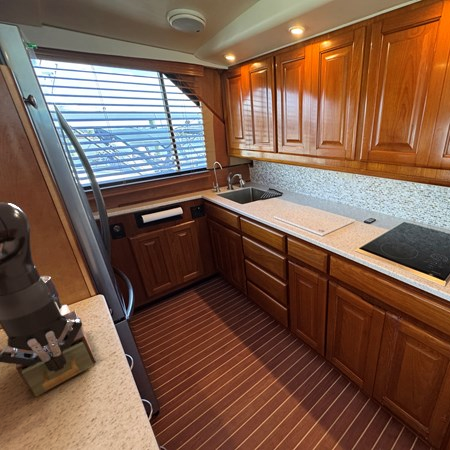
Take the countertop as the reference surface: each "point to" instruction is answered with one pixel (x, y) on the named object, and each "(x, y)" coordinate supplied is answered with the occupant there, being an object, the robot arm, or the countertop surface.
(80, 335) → the cabinet
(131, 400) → the countertop surface
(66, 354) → the drawer
